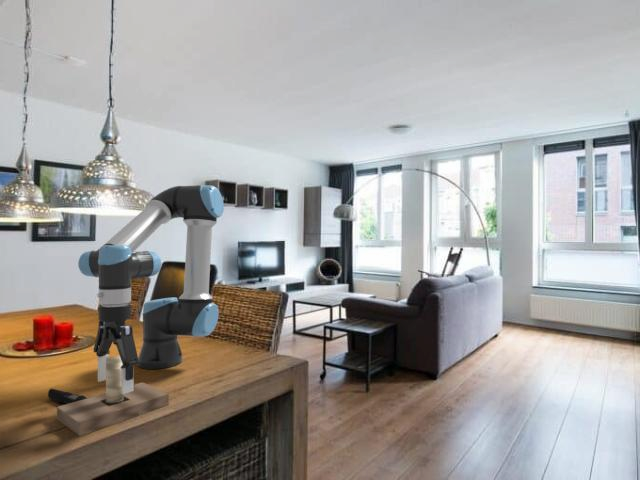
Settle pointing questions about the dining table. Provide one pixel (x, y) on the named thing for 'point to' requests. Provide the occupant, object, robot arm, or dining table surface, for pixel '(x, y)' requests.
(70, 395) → the electric trimmer
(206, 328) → the robot arm
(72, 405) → the walnut board
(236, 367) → the dining table surface
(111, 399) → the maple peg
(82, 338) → the dining table surface
